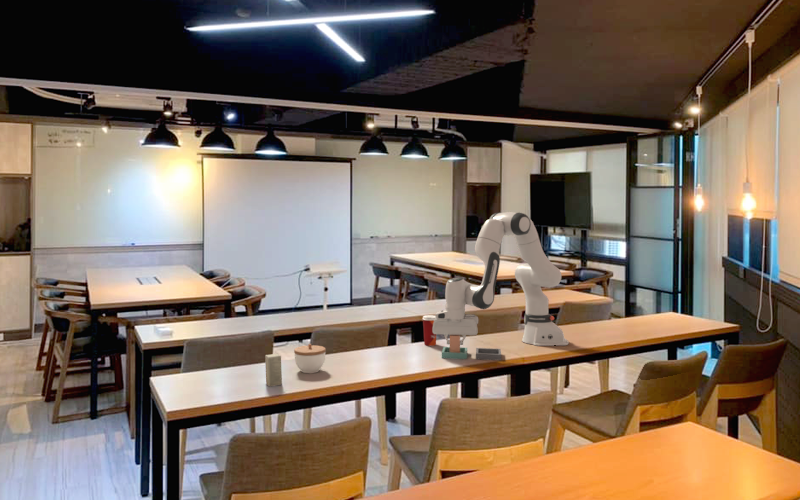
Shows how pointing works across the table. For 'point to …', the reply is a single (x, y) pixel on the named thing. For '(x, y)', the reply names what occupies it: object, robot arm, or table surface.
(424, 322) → the paper cup
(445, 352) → the bin
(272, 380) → the box
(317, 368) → the lidded bowl
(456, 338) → the block
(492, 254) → the robot arm
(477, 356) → the bin
